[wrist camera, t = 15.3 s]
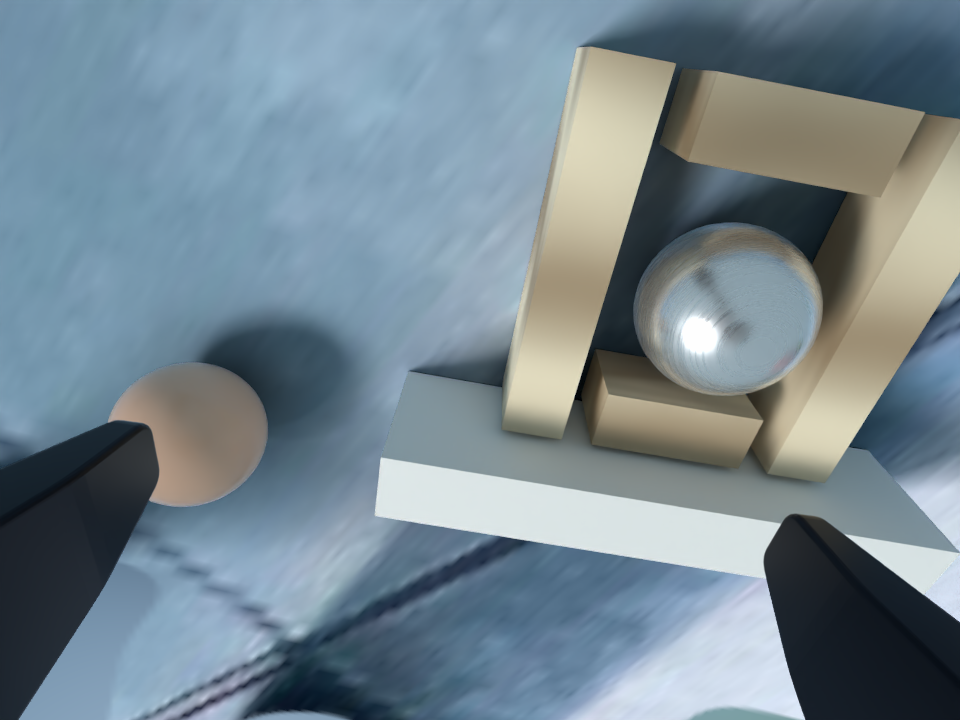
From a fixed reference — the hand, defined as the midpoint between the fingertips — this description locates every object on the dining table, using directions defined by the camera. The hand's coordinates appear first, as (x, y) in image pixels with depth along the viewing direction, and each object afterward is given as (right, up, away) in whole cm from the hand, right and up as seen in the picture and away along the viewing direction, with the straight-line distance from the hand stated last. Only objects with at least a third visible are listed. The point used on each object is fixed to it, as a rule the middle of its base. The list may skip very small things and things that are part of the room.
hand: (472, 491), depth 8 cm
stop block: (+6, -1, +14) cm, 15 cm away
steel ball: (+7, +3, +8) cm, 11 cm away
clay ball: (-10, -1, +11) cm, 15 cm away
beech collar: (+7, +5, +10) cm, 13 cm away
